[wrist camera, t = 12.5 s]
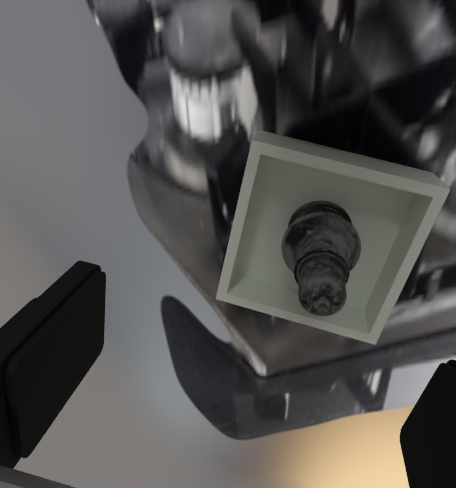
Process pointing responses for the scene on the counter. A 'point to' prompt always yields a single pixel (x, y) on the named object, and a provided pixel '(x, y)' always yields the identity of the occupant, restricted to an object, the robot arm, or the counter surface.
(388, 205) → the sage bin
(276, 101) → the counter surface
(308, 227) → the salt shaker
